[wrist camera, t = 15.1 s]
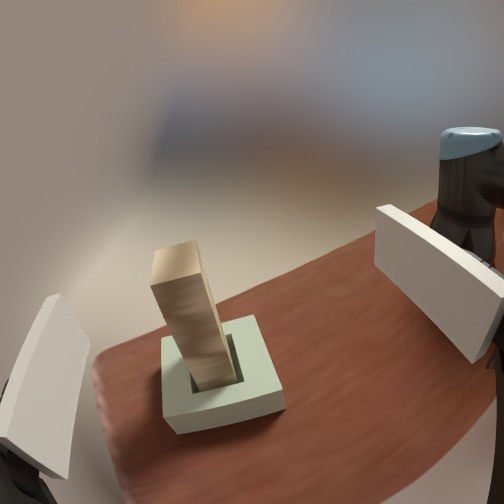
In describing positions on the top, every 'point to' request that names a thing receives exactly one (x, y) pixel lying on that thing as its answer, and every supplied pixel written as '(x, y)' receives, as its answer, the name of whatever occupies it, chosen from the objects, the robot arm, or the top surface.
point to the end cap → (225, 398)
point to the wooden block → (192, 315)
